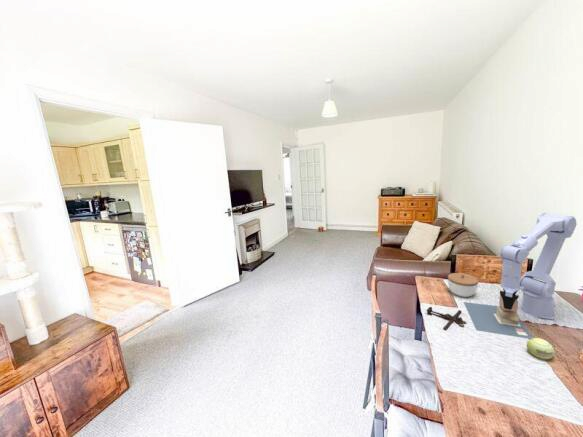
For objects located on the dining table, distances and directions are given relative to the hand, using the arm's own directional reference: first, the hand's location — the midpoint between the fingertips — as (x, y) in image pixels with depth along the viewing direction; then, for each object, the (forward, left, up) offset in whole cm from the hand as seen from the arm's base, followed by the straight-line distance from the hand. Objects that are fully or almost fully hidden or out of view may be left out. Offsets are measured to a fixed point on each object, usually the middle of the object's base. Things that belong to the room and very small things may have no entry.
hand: (508, 305), depth 101 cm
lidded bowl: (+12, -20, -8) cm, 25 cm away
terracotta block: (0, 0, -1) cm, 1 cm away
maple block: (0, 0, -7) cm, 7 cm away
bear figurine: (+23, +5, -8) cm, 25 cm away
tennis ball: (-3, +19, -8) cm, 21 cm away
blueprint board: (+4, 0, -7) cm, 8 cm away
